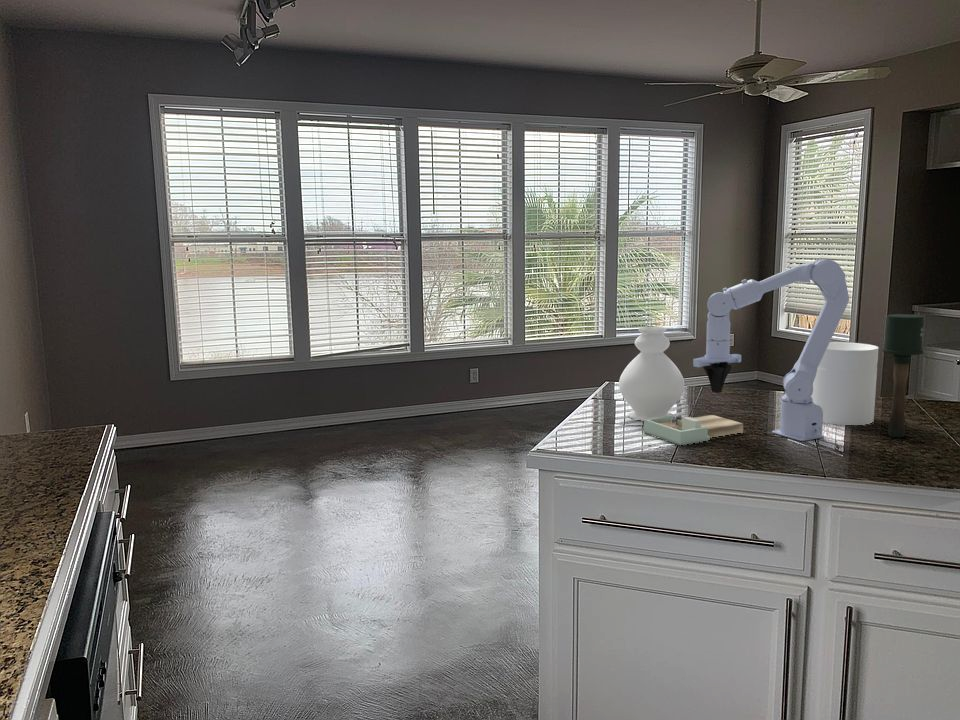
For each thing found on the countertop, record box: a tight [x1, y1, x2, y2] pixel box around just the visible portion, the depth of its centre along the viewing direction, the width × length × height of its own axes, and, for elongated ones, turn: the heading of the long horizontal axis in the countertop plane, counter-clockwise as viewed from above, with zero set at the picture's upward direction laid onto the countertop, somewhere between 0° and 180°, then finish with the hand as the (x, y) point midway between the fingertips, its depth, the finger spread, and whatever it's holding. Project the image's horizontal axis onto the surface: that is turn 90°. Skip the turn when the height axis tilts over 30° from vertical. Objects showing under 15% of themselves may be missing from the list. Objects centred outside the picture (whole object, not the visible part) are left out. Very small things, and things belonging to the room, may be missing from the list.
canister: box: [811, 341, 880, 426], centre depth 198 cm, size 16×16×20 cm
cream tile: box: [681, 416, 701, 430], centre depth 182 cm, size 4×4×2 cm
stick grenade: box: [881, 313, 925, 439], centre depth 179 cm, size 8×9×30 cm
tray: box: [643, 416, 711, 447], centre depth 184 cm, size 14×9×4 cm, turn 26°
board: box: [676, 414, 744, 439], centre depth 189 cm, size 11×12×2 cm
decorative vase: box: [618, 326, 685, 422], centre depth 204 cm, size 18×18×25 cm
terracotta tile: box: [659, 422, 678, 429], centre depth 187 cm, size 4×4×2 cm
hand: (716, 392), depth 189 cm, fingers closed
